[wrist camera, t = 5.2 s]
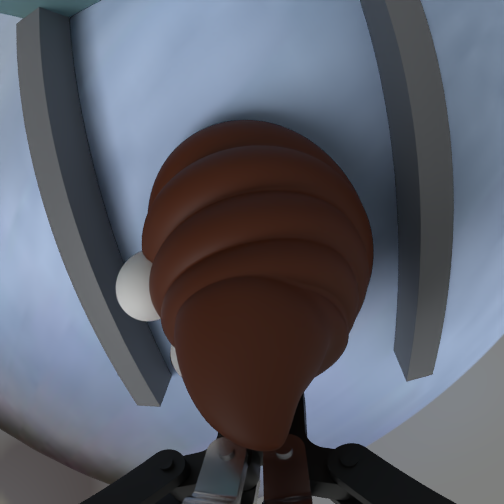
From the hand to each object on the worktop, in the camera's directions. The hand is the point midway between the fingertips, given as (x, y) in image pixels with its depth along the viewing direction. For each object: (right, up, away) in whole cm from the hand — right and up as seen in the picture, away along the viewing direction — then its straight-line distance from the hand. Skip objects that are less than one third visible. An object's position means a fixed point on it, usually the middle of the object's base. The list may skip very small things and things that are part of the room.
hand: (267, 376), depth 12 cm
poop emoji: (0, +6, +2) cm, 6 cm away
